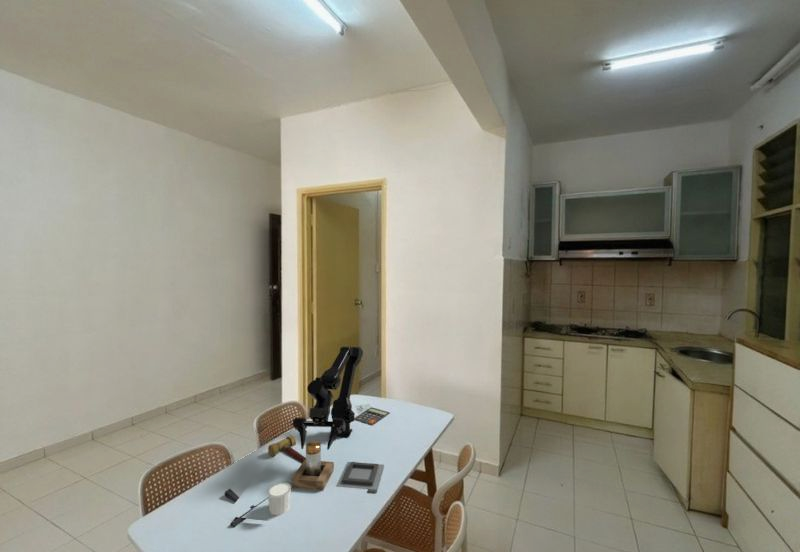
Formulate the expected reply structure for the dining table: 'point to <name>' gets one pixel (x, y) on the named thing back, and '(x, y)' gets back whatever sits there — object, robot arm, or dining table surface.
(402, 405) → the dining table surface
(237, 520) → the bracket
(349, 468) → the tray
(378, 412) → the calculator
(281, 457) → the dining table surface
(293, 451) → the gavel
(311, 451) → the gold-topped cylinder
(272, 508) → the white cylinder
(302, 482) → the socket block
